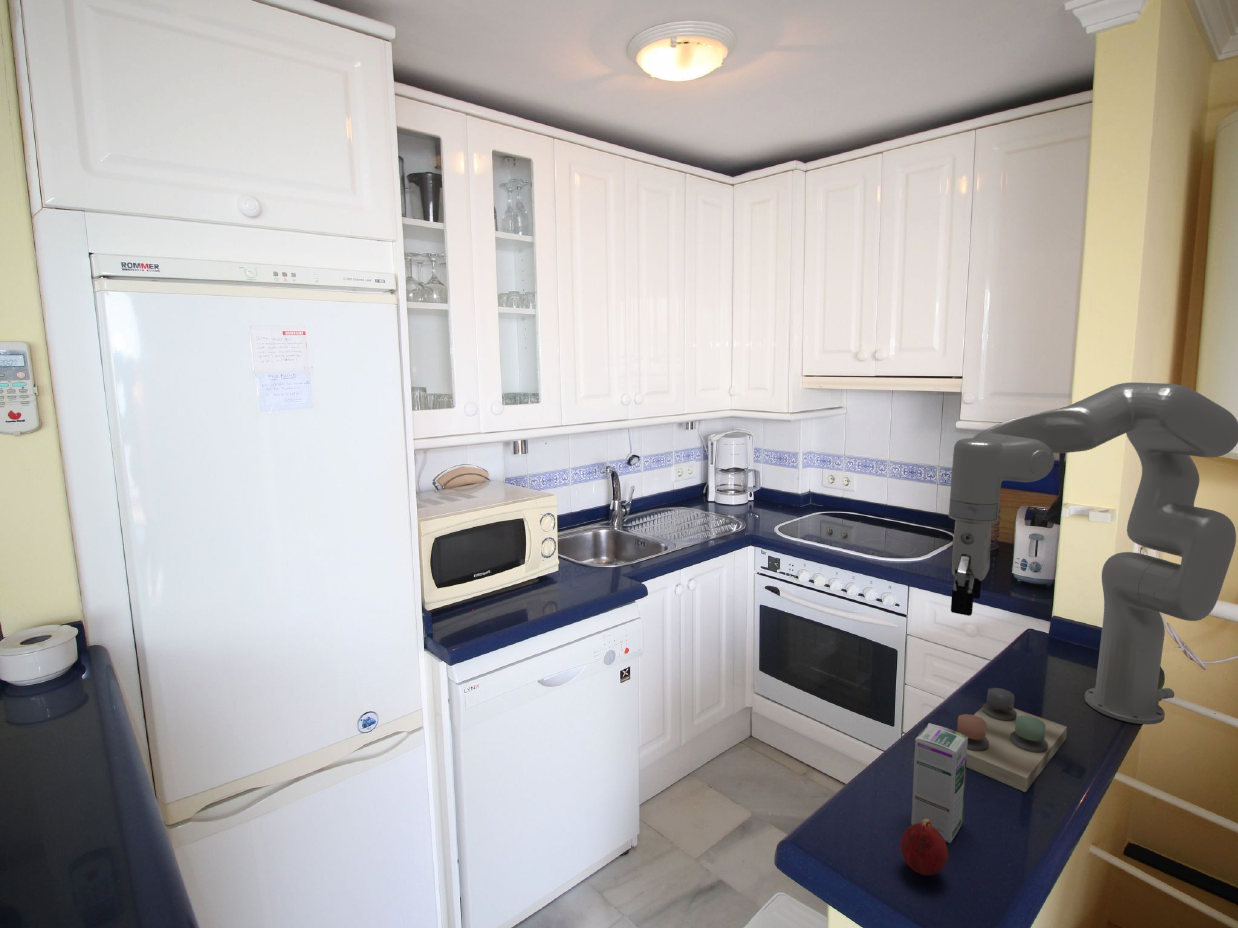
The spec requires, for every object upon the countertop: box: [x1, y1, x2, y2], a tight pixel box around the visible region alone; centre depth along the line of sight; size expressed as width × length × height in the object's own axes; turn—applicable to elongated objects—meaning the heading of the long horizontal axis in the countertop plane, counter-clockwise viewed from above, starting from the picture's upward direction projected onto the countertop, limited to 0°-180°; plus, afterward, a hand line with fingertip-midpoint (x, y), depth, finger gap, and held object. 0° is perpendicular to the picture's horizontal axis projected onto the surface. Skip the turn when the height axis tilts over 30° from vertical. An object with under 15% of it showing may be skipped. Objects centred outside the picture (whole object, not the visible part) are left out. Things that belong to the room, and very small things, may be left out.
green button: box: [1015, 716, 1046, 741], centre depth 114 cm, size 4×4×2 cm
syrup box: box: [910, 722, 968, 844], centre depth 97 cm, size 6×6×14 cm
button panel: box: [955, 702, 1068, 793], centre depth 117 cm, size 22×13×3 cm, turn 132°
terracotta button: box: [956, 713, 987, 740], centre depth 114 cm, size 4×4×2 cm
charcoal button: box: [986, 687, 1016, 711], centre depth 123 cm, size 4×4×2 cm
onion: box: [900, 819, 949, 876], centre depth 88 cm, size 6×6×8 cm
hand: (965, 604), depth 115 cm, fingers open, 9 cm apart
